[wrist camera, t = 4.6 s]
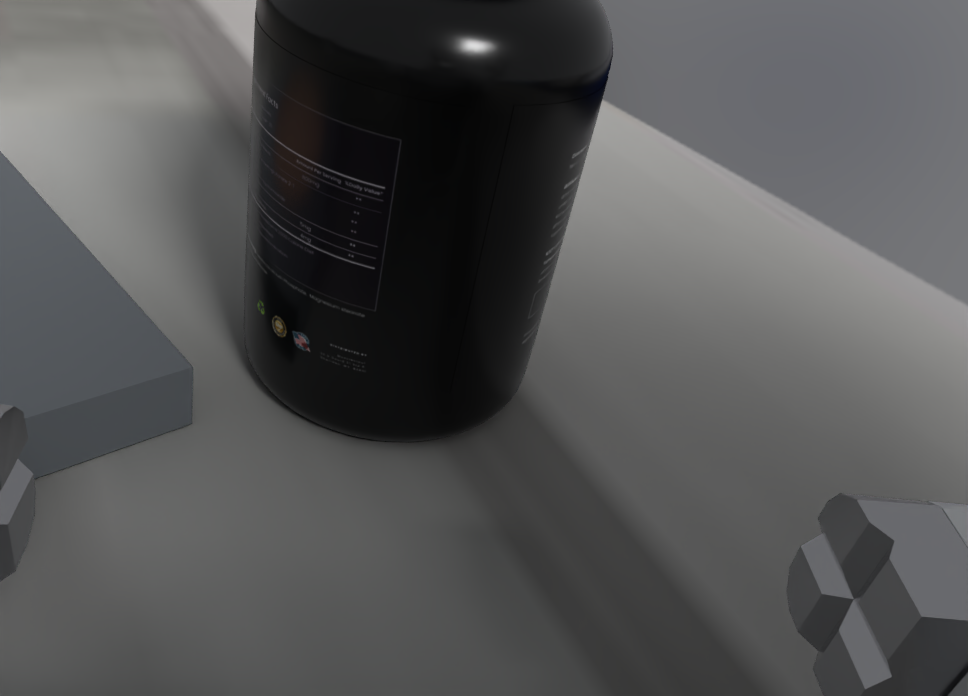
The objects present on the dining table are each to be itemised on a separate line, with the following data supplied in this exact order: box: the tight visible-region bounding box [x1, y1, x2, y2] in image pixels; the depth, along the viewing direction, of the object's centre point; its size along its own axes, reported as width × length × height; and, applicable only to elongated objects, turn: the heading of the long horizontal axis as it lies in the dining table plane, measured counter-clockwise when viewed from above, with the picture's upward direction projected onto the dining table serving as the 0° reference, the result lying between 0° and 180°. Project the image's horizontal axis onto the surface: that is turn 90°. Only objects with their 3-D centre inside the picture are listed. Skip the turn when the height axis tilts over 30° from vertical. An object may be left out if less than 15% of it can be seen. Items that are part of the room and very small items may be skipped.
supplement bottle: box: [244, 0, 613, 442], centre depth 18 cm, size 7×7×12 cm
